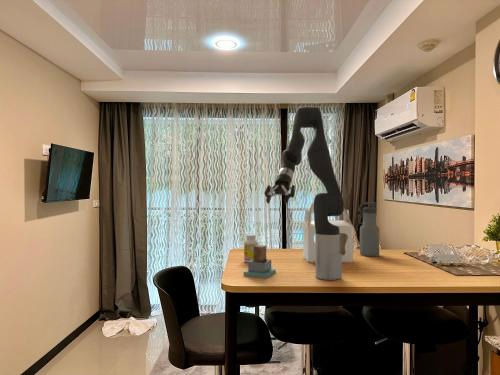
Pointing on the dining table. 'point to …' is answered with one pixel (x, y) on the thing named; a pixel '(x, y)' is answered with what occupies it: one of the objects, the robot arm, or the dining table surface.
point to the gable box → (344, 237)
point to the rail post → (260, 253)
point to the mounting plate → (261, 275)
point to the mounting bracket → (443, 257)
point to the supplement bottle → (249, 247)
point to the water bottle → (369, 230)
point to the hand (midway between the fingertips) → (276, 202)
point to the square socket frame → (259, 266)
